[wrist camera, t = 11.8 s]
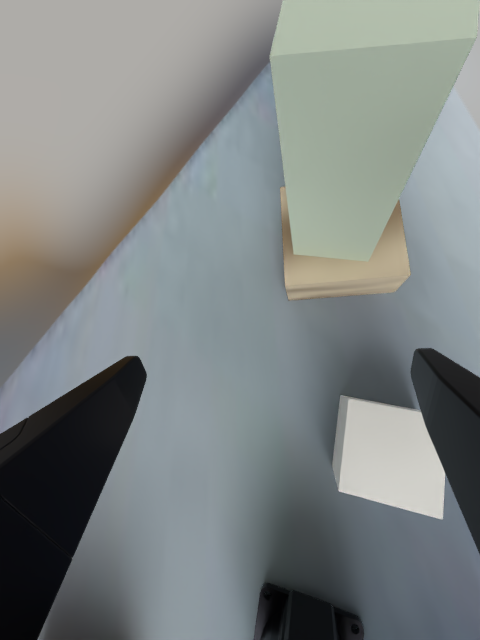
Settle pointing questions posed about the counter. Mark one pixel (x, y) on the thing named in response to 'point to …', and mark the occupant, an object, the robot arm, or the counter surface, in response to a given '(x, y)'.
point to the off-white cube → (387, 456)
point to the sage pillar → (359, 109)
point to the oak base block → (346, 265)
